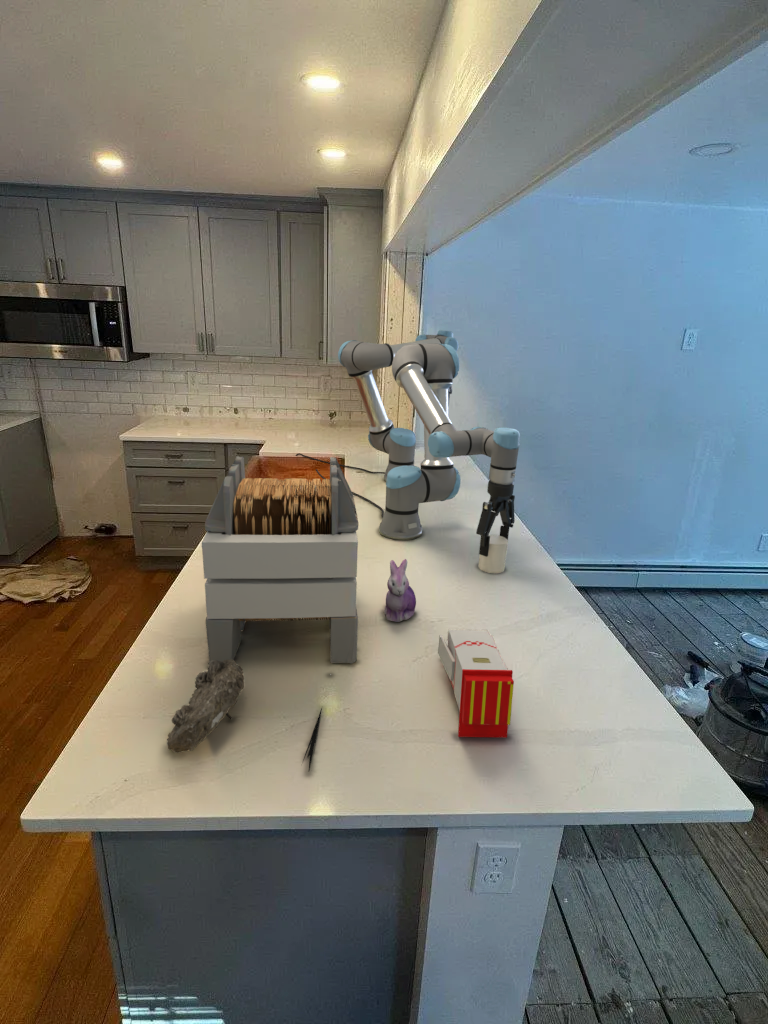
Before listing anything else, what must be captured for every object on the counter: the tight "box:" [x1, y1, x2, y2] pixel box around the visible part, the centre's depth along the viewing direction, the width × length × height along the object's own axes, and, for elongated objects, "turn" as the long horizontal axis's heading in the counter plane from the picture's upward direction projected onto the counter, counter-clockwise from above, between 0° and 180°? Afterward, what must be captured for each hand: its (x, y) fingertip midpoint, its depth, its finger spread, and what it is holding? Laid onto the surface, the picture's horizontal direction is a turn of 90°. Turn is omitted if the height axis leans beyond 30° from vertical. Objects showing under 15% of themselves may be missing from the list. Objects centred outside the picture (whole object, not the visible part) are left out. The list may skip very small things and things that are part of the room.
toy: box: [437, 628, 515, 738], centre depth 117 cm, size 12×13×30 cm
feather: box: [301, 673, 332, 771], centre depth 108 cm, size 2×28×2 cm
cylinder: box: [478, 534, 509, 574], centre depth 175 cm, size 8×8×10 cm
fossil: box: [166, 659, 245, 754], centre depth 106 cm, size 22×10×15 cm
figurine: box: [384, 558, 417, 623], centre depth 145 cm, size 9×10×15 cm
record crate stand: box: [201, 455, 359, 666], centre depth 133 cm, size 34×33×41 cm
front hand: (493, 550), depth 175 cm, fingers open, 10 cm apart
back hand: (439, 408), depth 279 cm, fingers open, 13 cm apart
